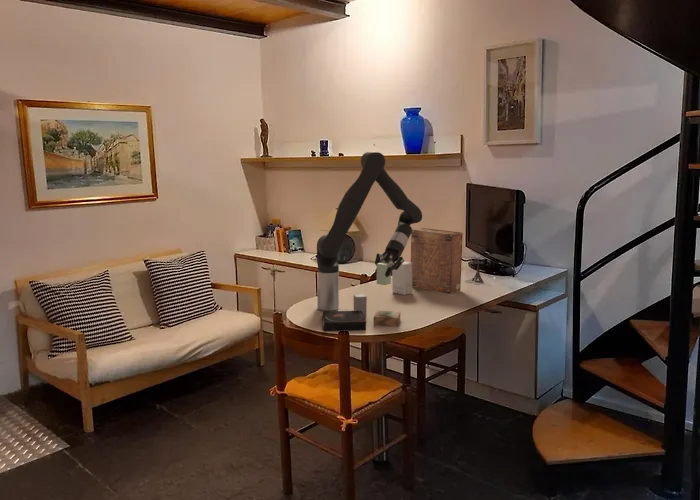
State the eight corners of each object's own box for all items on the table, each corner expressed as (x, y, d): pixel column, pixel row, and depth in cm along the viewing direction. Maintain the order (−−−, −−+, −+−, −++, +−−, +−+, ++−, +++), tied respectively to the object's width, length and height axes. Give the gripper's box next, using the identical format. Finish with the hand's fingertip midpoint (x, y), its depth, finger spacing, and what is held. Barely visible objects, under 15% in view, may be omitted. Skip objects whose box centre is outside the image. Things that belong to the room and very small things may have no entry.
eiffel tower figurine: (474, 278, 338) (475, 255, 335) (491, 280, 332) (492, 257, 329) (462, 283, 326) (463, 259, 323) (479, 285, 320) (480, 261, 318)
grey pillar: (356, 317, 258) (356, 297, 257) (353, 314, 263) (353, 294, 261) (366, 316, 259) (366, 296, 258) (363, 313, 264) (363, 294, 262)
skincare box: (412, 293, 301) (413, 262, 299) (404, 295, 296) (405, 264, 294) (399, 290, 307) (399, 260, 304) (391, 292, 302) (391, 262, 299)
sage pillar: (385, 285, 261) (385, 264, 259) (376, 283, 263) (376, 263, 262) (390, 283, 264) (391, 263, 263) (382, 281, 267) (382, 262, 265)
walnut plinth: (373, 326, 247) (373, 316, 246) (376, 319, 257) (377, 309, 256) (397, 327, 245) (397, 317, 245) (400, 320, 255) (400, 311, 254)
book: (409, 285, 317) (411, 229, 312) (420, 283, 324) (421, 227, 319) (450, 293, 300) (452, 234, 295) (460, 290, 307) (462, 232, 302)
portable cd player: (321, 320, 255) (321, 311, 254) (361, 319, 257) (361, 310, 256) (323, 332, 239) (323, 322, 238) (365, 331, 240) (365, 321, 240)
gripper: (380, 237, 271) (364, 268, 263) (407, 240, 262) (391, 272, 255) (386, 247, 276) (371, 277, 268) (413, 251, 267) (398, 282, 260)
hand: (381, 275), depth 262 cm, fingers closed on sage pillar, 4 cm apart
